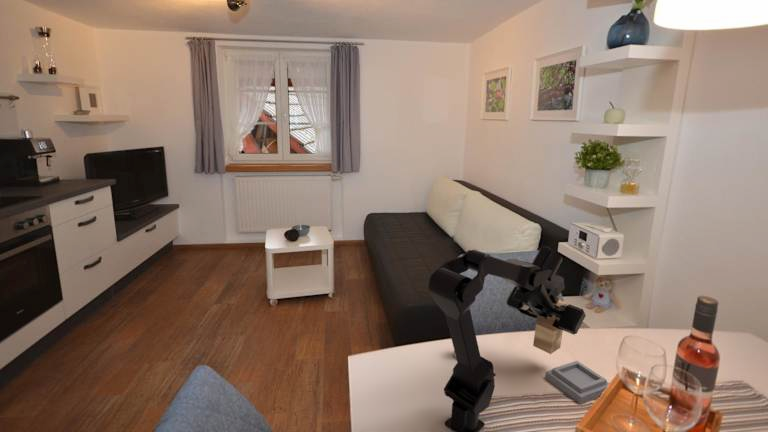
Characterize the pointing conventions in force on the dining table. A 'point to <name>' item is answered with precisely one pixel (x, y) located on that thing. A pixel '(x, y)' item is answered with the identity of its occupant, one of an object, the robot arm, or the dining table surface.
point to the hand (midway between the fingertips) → (552, 322)
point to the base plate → (577, 381)
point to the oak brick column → (548, 333)
